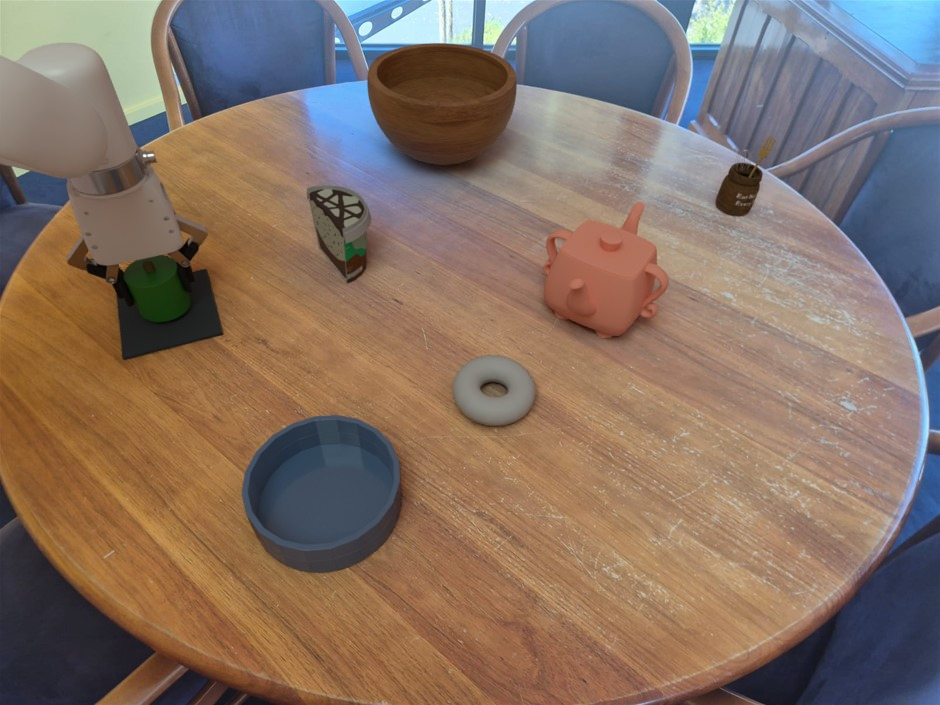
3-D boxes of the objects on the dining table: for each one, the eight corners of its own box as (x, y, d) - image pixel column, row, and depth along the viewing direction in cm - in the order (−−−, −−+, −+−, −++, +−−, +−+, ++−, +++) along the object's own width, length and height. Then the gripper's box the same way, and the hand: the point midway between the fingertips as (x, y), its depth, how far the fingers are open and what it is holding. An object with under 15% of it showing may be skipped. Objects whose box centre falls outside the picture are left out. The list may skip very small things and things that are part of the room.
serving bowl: (271, 598, 58) (259, 575, 54) (241, 468, 67) (229, 442, 63) (423, 538, 62) (422, 514, 59) (375, 425, 72) (372, 398, 68)
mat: (123, 360, 77) (122, 358, 77) (116, 290, 86) (115, 288, 85) (223, 334, 81) (222, 332, 80) (207, 270, 89) (206, 268, 89)
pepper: (142, 327, 79) (121, 285, 74) (137, 296, 83) (117, 253, 78) (194, 314, 81) (177, 272, 76) (187, 284, 85) (171, 242, 80)
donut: (545, 385, 77) (473, 356, 80) (550, 367, 75) (475, 338, 77) (514, 445, 71) (437, 411, 73) (517, 427, 68) (437, 393, 71)
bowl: (409, 207, 102) (406, 119, 91) (352, 138, 116) (343, 56, 105) (536, 172, 111) (547, 89, 100) (468, 112, 125) (471, 34, 114)
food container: (390, 274, 90) (386, 216, 83) (352, 289, 88) (344, 231, 80) (351, 231, 97) (344, 174, 90) (315, 243, 94) (304, 186, 87)
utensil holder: (706, 202, 106) (731, 137, 97) (732, 193, 109) (759, 129, 100) (732, 220, 103) (759, 155, 94) (758, 211, 105) (788, 145, 96)
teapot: (556, 357, 80) (572, 282, 71) (527, 274, 91) (537, 201, 82) (665, 346, 82) (694, 272, 73) (624, 267, 93) (644, 194, 84)
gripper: (185, 139, 72) (224, 260, 85) (17, 166, 67) (86, 291, 80) (194, 171, 68) (233, 294, 81) (14, 203, 63) (87, 329, 76)
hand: (159, 291), depth 80 cm, fingers closed on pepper, 6 cm apart
